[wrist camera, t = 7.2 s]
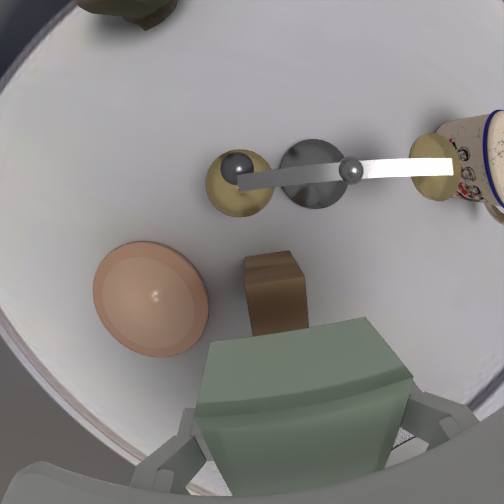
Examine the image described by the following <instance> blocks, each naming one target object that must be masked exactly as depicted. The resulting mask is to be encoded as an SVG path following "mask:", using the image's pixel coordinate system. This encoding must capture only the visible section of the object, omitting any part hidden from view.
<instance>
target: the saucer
mask: <svg viewBox="0 0 504 504" xmlns="http://www.w3.org/2000/svg"><path fill="white" fill-rule="evenodd" d="M93 298H94V304H95V307H96V311H97V313H98V316H99V318H100V320H101V321H102V323H103V325H104V326H105V328H106V329H107V330H108V332H109V333H110V334H111V335H112V336H113V337H114V338H115V339H116V340H117V341H118V342H120V343H121V344H122V345H124V346H125V347H127V348H129V349H130V350H132V351H135V352H137V353H140V354H142V355H146V356H151V357H170V356H174V355H178V354H180V353H183V352H184V351H186V350H188V349H189V348H190V347H192V346H193V345H194V344H195V343H196V342H197V341H198V339H199V338H200V336H201V335H202V333H203V331H204V329H205V325H206V322H207V318H208V313H209V299H208V293H207V290H206V286H205V284H204V282H203V279H202V277H201V276H200V274H199V272H198V271H197V270H196V268H195V267H194V266H193V264H192V263H191V262H190V261H189V260H188V259H187V258H185V257H184V256H183V255H182V254H181V253H179V252H177V251H176V250H174V249H173V248H170V247H168V246H166V245H163V244H160V243H157V242H151V241H137V242H132V243H128V244H126V245H123V246H121V247H119V248H118V249H116V250H114V251H113V252H111V253H110V254H109V255H108V256H106V257H105V259H104V260H103V261H102V262H101V264H100V265H99V267H98V269H97V271H96V274H95V278H94V282H93Z"/></svg>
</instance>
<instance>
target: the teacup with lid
mask: <svg viewBox="0 0 504 504" xmlns="http://www.w3.org/2000/svg"><path fill="white" fill-rule="evenodd" d="M436 133H438V134H440V135H442V136H444V137H446V138H447V139H448V140H449V141H450V142H451V143H452V145H453V146H454V148H455V150H456V152H457V154H458V157H459V160H460V165H461V177H460V183H459V186H458V188H457V190H456V192H455V193H454V194H453V195H452V197H455V198H458V199H463V200H469V201H475V202H481V203H484V204H485V207H486V209H487V210H488V212H489V213H490V215H491V216H492V217H493V218H494V219H495V220H496V221H498V222H499V223H501V224H503V225H504V214H503V213H502V212H500V211H499V210H498V209H497V208H496V206H495V205H497V206H501V207H503V208H504V110H495V111H493V112H492V113H491V114H487V115H481V116H475V117H470V118H465V119H460V120H455V121H450V122H446V123H444V124H442V125H441V126H440V127H439V128H438V130H437V131H436Z"/></svg>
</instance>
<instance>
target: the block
mask: <svg viewBox="0 0 504 504" xmlns="http://www.w3.org/2000/svg"><path fill="white" fill-rule="evenodd" d="M244 286H245V292H246V298H247V304H248V310H249V316H250V321H251V327H252V333H253V337H255V336H262V335H269V334H275V333H282V332H288V331H294V330H300V329H306V328H309V323H308V309H307V296H306V284H305V276H304V274H303V273H302V271H301V269H300V268H299V266H298V264H297V262H296V261H295V259H294V257H293V256H292V254H291V252H290V251H284V252H277V253H270V254H263V255H256V256H250V257H245V281H244Z"/></svg>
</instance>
